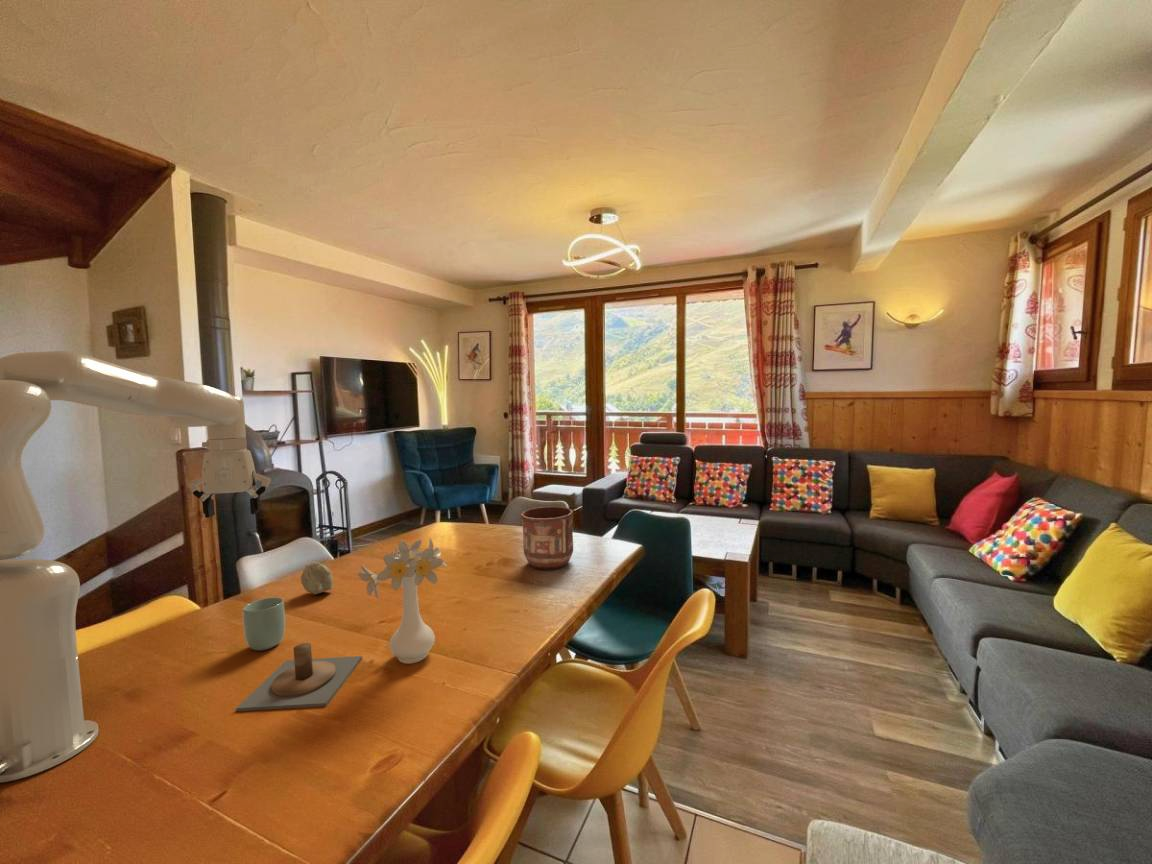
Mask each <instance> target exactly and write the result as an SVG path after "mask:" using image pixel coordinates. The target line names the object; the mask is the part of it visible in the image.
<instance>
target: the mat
mask: <svg viewBox="0 0 1152 864" xmlns="http://www.w3.org/2000/svg"><path fill="white" fill-rule="evenodd" d="M362 659H363V656H362V655H359V656H357V655H356V656H341V657H340V656H339V657H323V658H322V657H320V658H317V657H316V658H312V662H313V661H328V662H331V663H333V664H334V665H335V671H336V673H335V676H334V677H333V678H332V680H331V681H329V682H328V683H327V684H326V685H324V686H322V687H321V688H319V689H317V690H315V691H312V692H310V693H307V694H303V695H299V696H294V697H280V696H276V695H275V694H273V692H272V686H271V685H272V682H273V681H274V679H275V678H276V677H277V676H278V675H280V674H281V673H283V672H284V671H286V670H288V669H290V668H292V667H294V666H295V663H294V659H286V660H285V661H284V662H283V663H282V664H281V665H280V666H279V667H277V669H276V670H274V672H272V674H270V675H269V676H268V677H267V678H266V679H265V680H264V681H263V682H262V683H261V684H260V685H259V686H258V687H256V689H254V690H253V691H252V692H251V693H250V694H249V695H248V696H247V697H246V698H245V699H244V700H243V701H242V702H241V703H240V704H239V705H238V706H236V708H235V711H236V712H249V711H267V710H279V709H280V710H283V709H300V708H301V709H302V708H315V707H317V708H318V707H328V705H329V703H330V702H331V701H332V700H333V698H334V696H336V694H337V693H338V691H339V690H340V688H341V687H342V686H343V685H344V684H345V683H346V681H347V680H348V678H349V677H350V675H352V673H353V672H354V670H355V669H356V668H357V666H358V665H359V663H361V661H362Z"/></svg>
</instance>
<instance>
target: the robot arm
mask: <svg viewBox="0 0 1152 864" xmlns="http://www.w3.org/2000/svg"><path fill="white" fill-rule="evenodd" d="M51 401H62V402H63V401H65V402H72V403H77V404H81V405H86V406H92V407H95V408H100V409H103V410H110V411H112V412H113V411H114V412H118V413H121V414H125V415H134V416H135V415H136V416H145V417H146V416H147V417H166V418H167V420H168V421H169V422H170V423H172V424H174V425H176V426H179V427H185V428H196V427H197V428H202V427H206V432H207V434H206V435H207V439H206V441H203V442H201V447H202V448H206V449H207V452H204V455H203V459H202V460H203V461H202V469H201V477H199V478H197V479H195V480H193V481H192V482H190V483H188V484H187V487H188V488H189V490H190V491H191V493H192V494H193V496H194V497H196V498H197V499H198V500H199V501H200V502H201V503H202V513H203V515H204V518H207V519H208V518H211V517H213V516H215V514H216V512H215V511H216V510H215V500H214V499H213V498H212V497H213V496H214V495H217V494H230V493H242V492H243V493H244V492H246V493H248V495H249V496H251V498H250V499H249V506H250V514H251V515H256V514H257V513H259V512H260V510H261V508H262V507H261V496H262V495H263V494H264V493H265V492H266V491H267V490H268V488H269V485H270V483H271V482H272V478H270V477H268V476H265V475H263V474H260V473H257V472H256V467H255V463H254V460H253V459H254V458H253V457H252V456H253V455H252V453H251V450H249V449H248V447H247V445H248V444H247V433H246V432H247V431H246V418H245V417H246V416H245V404H244V400H243V398H242V396H239V395H235V394H234V395H233V394H230V393H229V392H227V391H224V390H221V389H218V388H215V387H211V386H210V385H205V384H201V383H196V382H191V381H186V380H181V379H175V378H170V377H166V376H160V375H155V374H149V373H144V372H142V371H141V372H140V371H137V370H135V369H131V368H128V367H125V366H122V365H119V364H116V363H112V362H110V361H106V360H103V359H100V358H96V357H94V356H90V355H87V354H84V353H80V352H75V351H68V350H67V351H66V350H54V351H53V350H52V351H51V350H49V351H32V352H31V351H29V352H28V351H27V352H19V353H18V352H17V353H13V354H9V355H5V356H3V357H0V784H1V783H8V782H13V781H17V780H20V779H23V778H28V777H31V776H33V775H36V774H39V773H41V772H44V771H47V770H48V769H51V768H53V767H55V766H58V765H59V764H61V763H64V762H66V761H67V760H69V759H71V758H73V757H75V756H76V755H77V754H79V753H81V752H82V751H84V750H85V749H86V748H87V747H88V746H90V745H91V744H92V743H93V742H94V740H96V738H97V737H98V735H99V724H98V723H97V722H95V721H94V720H93V721H92V720H90V719H89V720H88V719H87V720H86V719H85V718H84V708H83V697H82V685H81V676H80V675H81V674H80V666H79V664H80V662H79V654H78V643H77V634H76V630H77V629H76V615H77V614H76V613H77V606H78V603H79V602H78V600H79V596H80V590H81V589H80V588H81V583H80V577H79V575H78V573H77V572H76V570H74V568H73V567H71V566H70V565H68V564H66V563H63V562H61V561H58V560H51V559H41V558H40V559H38V558H37V559H36V558H35V559H33V558H32V559H31V558H30V559H16V558H19V557H22V556H24V555H28V554H29V553H31V552H32V551H34V550H35V549H37V548H38V546H39V545H41V543H42V541H43V538H44V536H45V527H44V523H43V519H42V517H41V514H40V512H39V509H38V507H37V505H36V502H35V499H34V497H33V495H32V494H33V493H32V492H31V490H30V487H29V484H28V483H27V480H26V477H25V474H24V470H23V466H22V455H23V452H24V449H25V447H26V445H27V443H28V442H29V441H30V439H31V438H32V436H34V434H35V433H37V431H38V430H40V428H41V427H42V426H43V425H44V424H45V423H46V422H47V420H48V419H49V417H50V414H51V409H52V402H51ZM257 481H259V482H261V486H259V488H257V487H256V486H257ZM200 485H201V487H202V489H200Z"/></svg>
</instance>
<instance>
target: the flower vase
mask: <svg viewBox="0 0 1152 864" xmlns="http://www.w3.org/2000/svg"><path fill="white" fill-rule="evenodd" d="M428 539H429V543H428V544H429V547H428V548H425V549H424V550H423V551H420V550H419V549H420V547H421V545H422V540H419V539H418V540H416V541H414V542H413V544H411V546H409V544H408V543H407V542H406V541H404V540H400V541H399V542H398V543H397V546H396V548H395V551H391V554H388V553H387V554H384V555H383V563H384V564H385V566H386V567H384V569H383V570H382V571H380V572H379V573H378V574H377V573H374V572H372V571H371V570H369V569H368V568H367V567H366V566H364V565H363V564H361V565H360V567H361V570H362V571H363V572H358V573H357V574H358V577H359V578H360V579H361V580H362V581H364V582H368V583H367V584H366V593H367V595H368V596H371V595H372V594H373V592H374V596H375V597H376V599H377V600H379V598H380V597H379V585H380V584H379V583H380V582H381V581H387V580H390V579H391V582H390V583H391V588H392V590H393V591H397V590H399V588H400V587H401V588H402V616H401V617H402V618H401V622H400V624H399V627H398V628H397V630H396V631H395V632H394V633H393V635H392V637H391V638H390V641H389V651H390V653H391V654H392V655H393V656H394V657H396V658H397V660H398V661H399V662H400V663H401V664H404V665H405V664H407V665H408V664H409V665H410V664H416V663H419V662H421V661H424V660H425V659H426V657H427V656H428V654H429V651H430V650H431V649H432V648H433V646H434V644H435V641H436V637H435V633H434V631H433V630H432V628H431V627H430V626H429V625H428V624H426V623H425V622H424V620H423V619H422V617H421V613H420V608H419V598H418V586H419V585H421V584H422V583H423V581H424V579H426V580H427V581H428V582H430V583H431V584H436V583H438V577H437V574H436V573H435V571H433V570H436V569H438V568H439V567H441V566H445V567H448V565H447V564H446V561H444V560H443V559H442V558H441V555H442V551H441V550H440V548H438V547H434V542H433V541H432V538H431V537H429V538H428ZM398 550H399V551H398ZM408 565H409V566H408Z"/></svg>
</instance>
